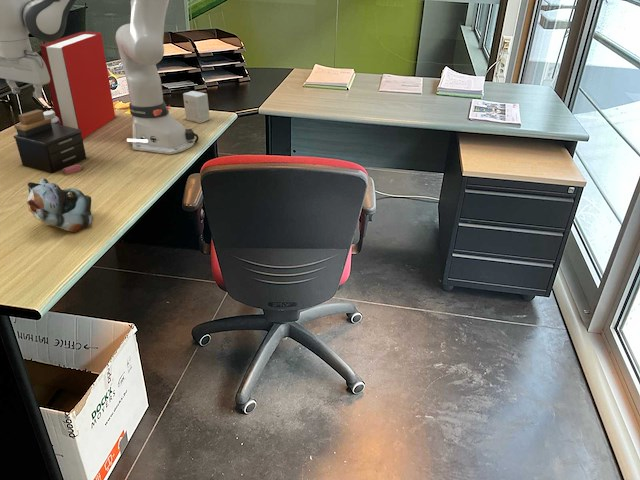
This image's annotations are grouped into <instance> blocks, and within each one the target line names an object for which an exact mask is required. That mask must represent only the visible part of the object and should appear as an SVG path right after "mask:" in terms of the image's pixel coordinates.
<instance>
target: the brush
mask: <svg viewBox="0 0 640 480" xmlns="http://www.w3.org/2000/svg"><path fill="white" fill-rule="evenodd" d="M43 112H44V110H42V109H39V108H38V109H34V110H31V111H27V112H24V113H21V114H18V115H17V116H18V120H19V122H18V123H15V124H13V125H14V129H15V130H16V133H17V134H16V135H21V136H25V137H28V136H31V135H34V134H37V133H39V132H42V131H45V130H48V129H51V128H52V125H51V122H52V121H51V118H47V117H44V114H43Z"/></svg>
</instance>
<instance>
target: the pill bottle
mask: <svg viewBox="0 0 640 480" xmlns="http://www.w3.org/2000/svg"><path fill="white" fill-rule="evenodd" d="M43 114H44V117H47V118H51V121H52V122H51V123H54V124H58V125H61V123H60V120H59V118H58V117H57V116H56V114H55V110H45V111H43Z"/></svg>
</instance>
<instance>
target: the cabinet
mask: <svg viewBox="0 0 640 480" xmlns="http://www.w3.org/2000/svg"><path fill="white" fill-rule="evenodd" d="M51 125H52V128H51V129H48V130H45V131H42V132H39V133H37V134H34V135H31V136H28V137H25V136H21V135H18V134H15V135H13V138H14V139H15V143H16V147H17V151H18V155H19V158H20V161H21V166H22V167H26V168H28V169H29V168H30V169H33V170H36V171H41V172H44V173H49V174H51V175H52V174H55V173H57V172H59V171H61V170H63V168H66V167H70V166H73V165H76V164H78V163H80V162H82V161H85V160H87V155H86V150H85V145H84V140H83V139H84V138H83V139H82V135H81V132H82V130H80V129H76V128H72V127H67V126H63V125H58V124H54V123H51Z"/></svg>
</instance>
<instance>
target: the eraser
mask: <svg viewBox="0 0 640 480" xmlns="http://www.w3.org/2000/svg"><path fill="white" fill-rule="evenodd" d="M62 170H63V173H64V174H66V175H69V174H70V175H71V174H73V173H76V172H79V171H82V166H81V165H80V164H78V163H75V164H73V165H71V166H69V167H66V168H63V169H62Z"/></svg>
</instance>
